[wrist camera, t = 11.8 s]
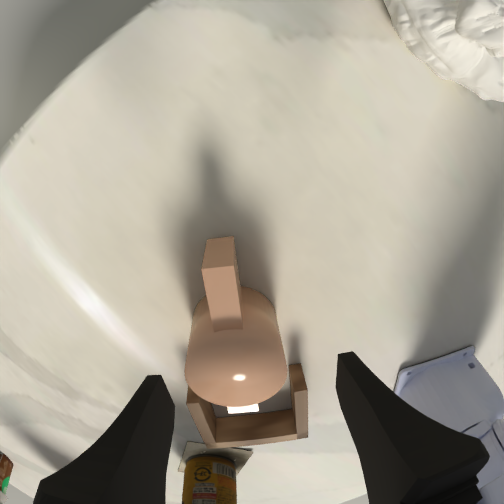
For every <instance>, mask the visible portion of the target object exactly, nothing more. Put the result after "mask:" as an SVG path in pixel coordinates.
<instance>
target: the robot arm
mask: <svg viewBox="0 0 504 504" xmlns="http://www.w3.org/2000/svg"><path fill="white" fill-rule="evenodd" d="M474 351H475V348H474V346H470V347H468V348H465V349H463V350H460V351H457V352H454V353H452V354H449V355H446V356H443V357H440V358H437V359H434V360H431V361H428V362H425V363H422V364H418V365H415V366H412V367H409V368H405V369H402V370H401V371H400V372H399V375H398V379H397V383H396V387H395V391H394V392H393V391H392V390H391V389H390V388H388V387H387V386H386V385H385V384H384V383H383V382H382V381H381V380H380V379H379V378H378V377H377V376H376V375H375V374H374V373H373V372H372V371H371V370H370V369H369V368H368V367H367V366H366V365H365V364H364V363H363V362H362V361H361V360H360V358H359V357H358V356H357V355H356V354H355V353H354V352H353V351H351V352H347V353H341V354H338V362H337V376H336V391H337V395H338V399H339V403H340V407H341V410H342V412H343V415H344V418H345V420H346V423H347V425H348V428H349V431H350V433H351V436H352V438H353V441H354V443H355V446H356V449H357V452H358V455H359V458H360V462H361V466H362V470H363V474H364V479H365V484H366V488H367V493H368V499H369V504H504V419H503V416H504V399H503V395H502V393H501V391H500V389H499V387H498V386H497V384H496V383H495V382H494V380H493V379H492V378H491V376H490V375H489V374H488V372H487V371H486V370H485V369H484V367H483V366H482V365H481V363H480V362H479V361H478V360H477V358H476V357H475V356H474V355H473V354H474ZM174 416H175V405H174V403H173V401H172V398H171V396H170V394H169V392H168V390H167V387H166V385H165V383H164V380H163V378H162V376H161V375H148V376H147V377H146V378H145V380H144V381H143V382H142V384H141V385H140V387H139V388H138V390H137V391H136V393H135V394H134V395H133V397H132V398H131V400H130V401H129V402H128V404H127V405H126V407H125V408H124V409H123V411H122V412H121V413H120V415H119V416H118V417H117V418H116V420H115V421H114V422H113V423H112V424H111V426H110V427H109V428H108V429H107V430H106V431H105V433H104V434H103V435H102V436H101V437H100V438H99V439H98V440H97V441H96V442H95V443H94V444H93V445H92V446H91V447H89V448H88V449H87V450H86V451H85V452H84V453H82V454H81V455H80V456H79V457H78V458H76V459H75V460H74V461H72V462H71V463H69V464H68V465H67V466H65V467H64V468H62V469H60V470H59V471H57V472H55V473H54V474H52V475H50V476H48V477H46V478H44V479H42V480H41V481H40V483H39V486H38V489H37V492H36V495H35V498H34V501H33V504H165V489H166V472H167V465H168V459H169V453H170V447H171V441H172V435H173V429H174Z"/></svg>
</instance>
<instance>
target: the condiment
mask: <svg viewBox="0 0 504 504" xmlns="http://www.w3.org/2000/svg"><path fill="white" fill-rule="evenodd" d="M204 451H205V452H204ZM252 454H253V452H252V451H246V450H241V449H233V448H229V447H228V448H211V449H207V447H206V445H205V444H202V443H194V442H187V445H186V448H185V451H184V454H183V457H182V460H181V463H180V466H179V469H178V472H184V484H183V494H182V504H237V493H236V476H237V474H238V473H239V471H240V470H241V469H242V467H243V466H244V465H245V463H246V462H247V460H248V459H249V458H250V457H251V455H252Z"/></svg>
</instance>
